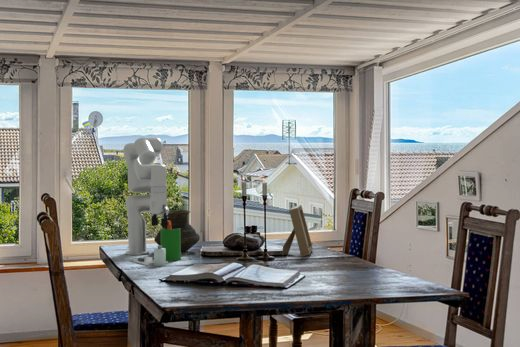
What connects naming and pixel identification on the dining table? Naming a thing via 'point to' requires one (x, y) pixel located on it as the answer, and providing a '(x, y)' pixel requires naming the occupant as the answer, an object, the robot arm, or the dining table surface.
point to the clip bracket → (144, 260)
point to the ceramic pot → (187, 231)
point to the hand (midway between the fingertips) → (159, 226)
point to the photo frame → (298, 233)
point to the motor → (171, 242)
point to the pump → (159, 256)
